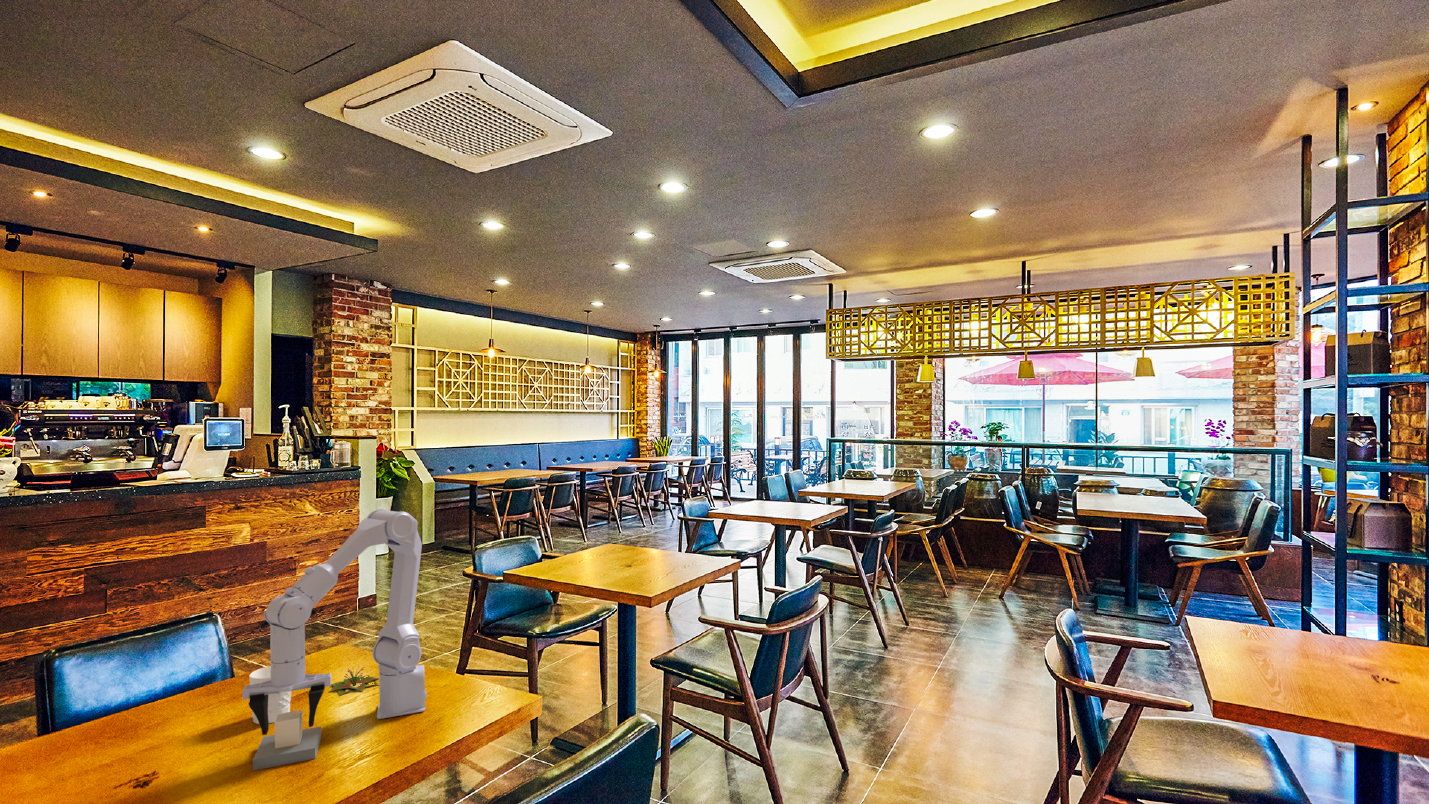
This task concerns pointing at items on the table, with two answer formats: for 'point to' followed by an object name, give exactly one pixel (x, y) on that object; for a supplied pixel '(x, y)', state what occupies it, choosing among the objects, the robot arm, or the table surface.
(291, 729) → the cream block
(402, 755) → the table surface
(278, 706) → the white cup
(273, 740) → the slate tile
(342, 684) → the lily flower
